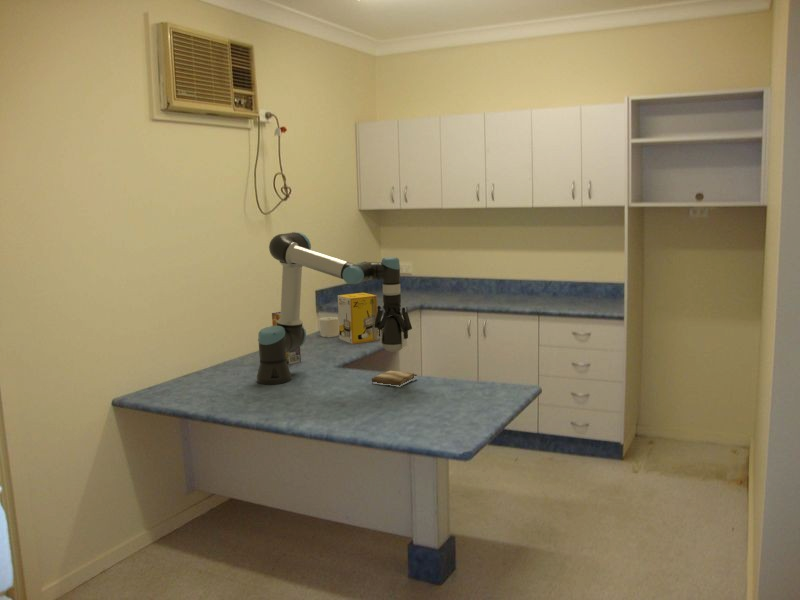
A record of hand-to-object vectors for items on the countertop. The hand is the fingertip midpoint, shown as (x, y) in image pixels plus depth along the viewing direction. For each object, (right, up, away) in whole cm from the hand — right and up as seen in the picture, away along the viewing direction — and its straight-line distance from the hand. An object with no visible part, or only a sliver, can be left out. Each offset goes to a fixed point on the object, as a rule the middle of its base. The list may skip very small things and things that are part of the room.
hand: (393, 345), depth 312 cm
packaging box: (-20, -3, +95) cm, 97 cm away
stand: (0, -16, +2) cm, 16 cm away
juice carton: (-53, -11, +47) cm, 72 cm away
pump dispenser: (0, -2, 0) cm, 2 cm away
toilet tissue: (-37, -2, +109) cm, 115 cm away
